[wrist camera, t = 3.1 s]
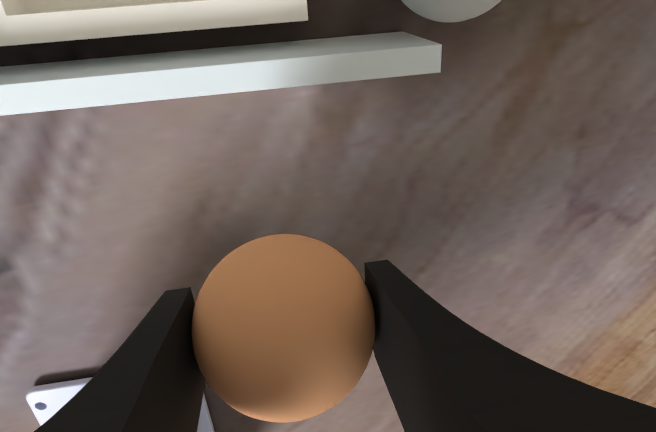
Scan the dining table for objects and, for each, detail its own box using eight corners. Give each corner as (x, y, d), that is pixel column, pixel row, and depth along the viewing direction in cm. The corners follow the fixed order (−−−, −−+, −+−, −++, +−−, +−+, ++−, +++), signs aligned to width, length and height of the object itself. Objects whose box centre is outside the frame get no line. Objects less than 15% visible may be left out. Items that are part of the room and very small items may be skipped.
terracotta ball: (358, 321, 14) (396, 448, 10) (217, 341, 14) (201, 481, 10) (353, 195, 12) (397, 293, 8) (187, 214, 12) (152, 328, 8)
